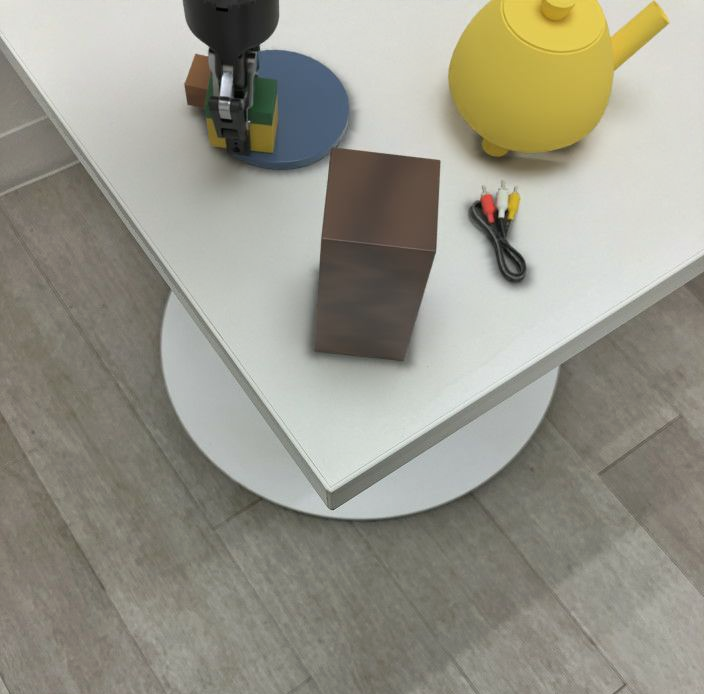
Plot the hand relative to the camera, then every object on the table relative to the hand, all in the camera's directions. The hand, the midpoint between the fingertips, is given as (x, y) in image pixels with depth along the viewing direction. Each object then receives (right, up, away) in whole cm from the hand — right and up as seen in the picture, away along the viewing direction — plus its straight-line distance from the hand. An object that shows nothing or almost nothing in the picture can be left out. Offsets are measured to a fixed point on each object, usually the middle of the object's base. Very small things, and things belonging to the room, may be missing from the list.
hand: (242, 132), depth 76 cm
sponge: (0, 0, 0) cm, 0 cm away
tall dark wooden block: (+11, -18, -5) cm, 22 cm away
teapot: (+29, +4, +5) cm, 30 cm away
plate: (+3, +3, +3) cm, 5 cm away
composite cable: (+24, -10, 0) cm, 26 cm away
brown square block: (-3, +4, +2) cm, 5 cm away
